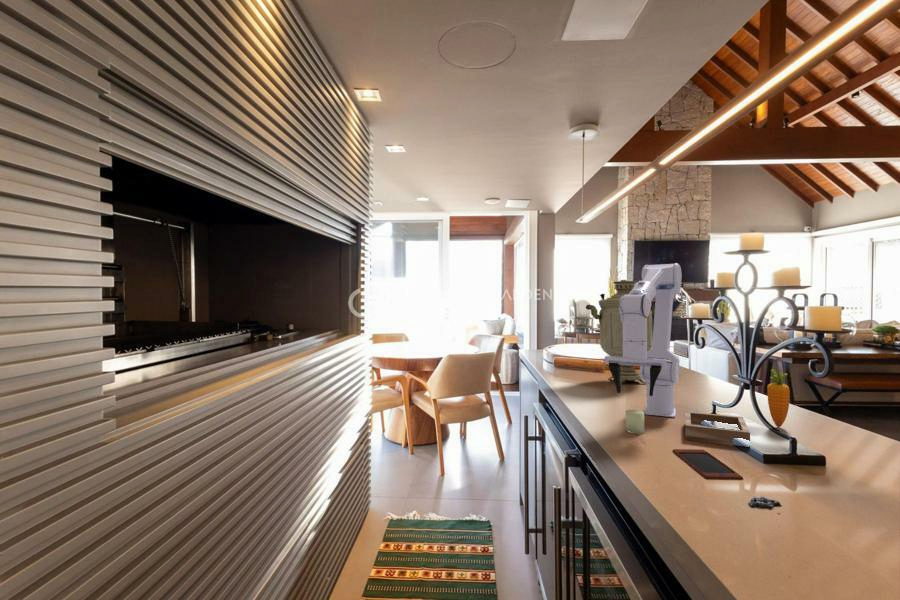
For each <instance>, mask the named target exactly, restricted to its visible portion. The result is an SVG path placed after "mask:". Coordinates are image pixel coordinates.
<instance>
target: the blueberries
mask: <svg viewBox="0 0 900 600" xmlns="http://www.w3.org/2000/svg"><path fill="white" fill-rule="evenodd" d="M747 505H748V507H750V508H752V509H753V508H754V509H755V508H756V509H757V508H759V509H764V510H767V509H768V510H773V509H774V508H781V507H783V505H782V504H781V502H780V501H778V500H775V499H772V498H768V497H765V496H760V497H759V496H754V497H752V498H751V499H750V501H748V502H747ZM777 514H778V515H779V514H780V515H781V513H780V512H778V513H777Z"/></svg>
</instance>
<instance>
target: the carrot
mask: <svg viewBox="0 0 900 600" xmlns="http://www.w3.org/2000/svg"><path fill="white" fill-rule="evenodd" d="M770 372H771V374H772V376H770V377H769V378H770V379H771V380H772V381H773V382H772V383H769V384H767V388H766V389H767V390H766V391H767V404H768V409H769V413H770V416H771V419H772V421H773V423H774V425H775V426H776V427H777V428H781V427H782V425H783V424H784V423H785V421H786V419H787V416H788V412H789V408H790V397H791V395H790V393H791V390H790V387H789V386H788V385H787V384H786V383H784V380H785V379H786V377H787V376H788V373H783V372H781V371H779V372H778V373H777V371H776V369H773V368H772V369H771V370H770Z"/></svg>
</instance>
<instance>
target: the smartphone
mask: <svg viewBox="0 0 900 600" xmlns="http://www.w3.org/2000/svg"><path fill="white" fill-rule="evenodd" d="M672 453H674V455H676V456H677V457H678V458H680V459H681V460H682V461H683V462H684V463H685V464H687V465H688V466H689V467H690V468H691V469H693V470H694V471H695V472H697V474H699V475H700V476H701V477H703V478H704V479H706V480H725V481H727V480H728V481H729V480H731V481H732V480H737V481H738V480H739V481H740V480H741V481H742V480H744V477H743V476H742V475H741V474H740V473H738V472H737V471H735V470H734V469H733V468H731V467H729V466H728V465H727V464H726V463H724V462H722V461H721V460H720V459H718V458H716V456H714V455H713V454H711V453H710V452H708V451H706V450H705V449H698V448H697V449H691V448H690V449H686V448H685V449H684V448H683V449H682V448H679V449H678V448H676V449H675V448H673V449H672Z"/></svg>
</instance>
